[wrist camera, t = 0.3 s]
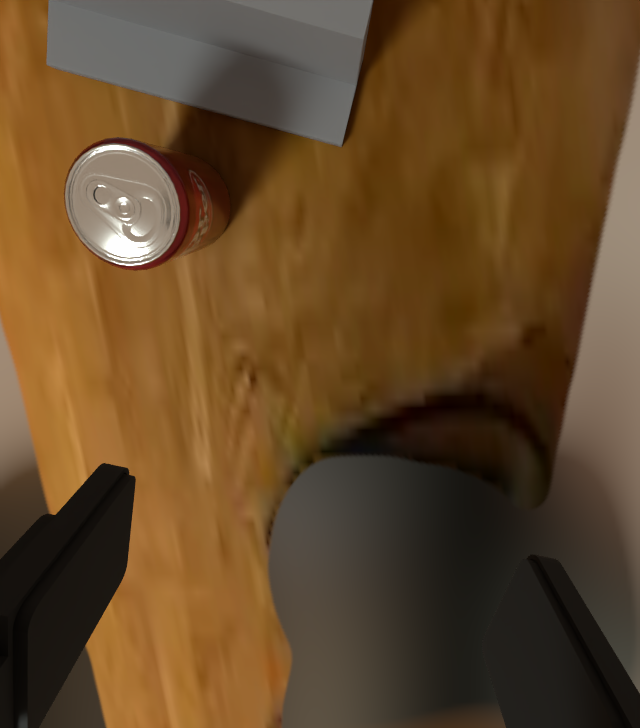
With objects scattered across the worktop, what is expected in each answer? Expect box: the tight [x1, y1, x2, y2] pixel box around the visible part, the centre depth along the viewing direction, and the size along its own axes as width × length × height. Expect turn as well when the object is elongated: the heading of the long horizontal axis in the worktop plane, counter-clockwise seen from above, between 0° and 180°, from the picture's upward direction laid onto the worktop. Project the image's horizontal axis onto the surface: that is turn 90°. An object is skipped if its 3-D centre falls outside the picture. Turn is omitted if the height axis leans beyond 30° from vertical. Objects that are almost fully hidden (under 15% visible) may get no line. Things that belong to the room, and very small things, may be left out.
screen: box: [47, 0, 373, 147], centre depth 28 cm, size 6×22×12 cm, turn 76°
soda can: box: [64, 137, 231, 271], centre depth 32 cm, size 7×7×12 cm
